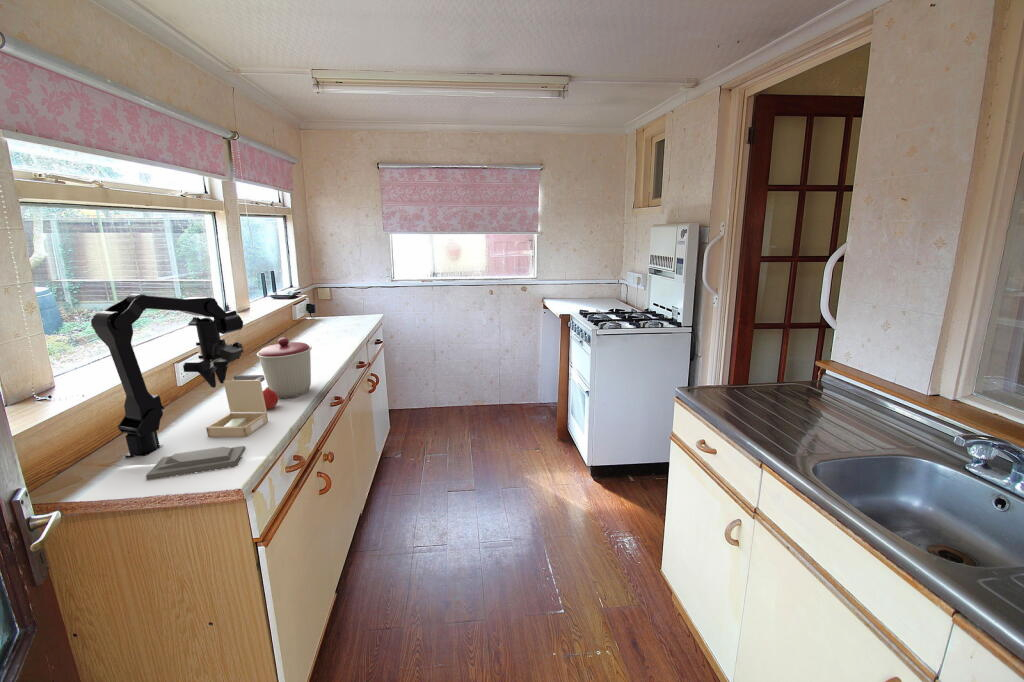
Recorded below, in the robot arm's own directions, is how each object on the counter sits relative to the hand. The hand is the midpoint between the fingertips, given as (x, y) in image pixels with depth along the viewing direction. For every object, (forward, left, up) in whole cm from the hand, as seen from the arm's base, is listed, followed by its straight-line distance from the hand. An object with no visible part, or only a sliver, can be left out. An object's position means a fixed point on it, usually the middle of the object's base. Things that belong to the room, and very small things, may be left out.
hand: (218, 385), depth 154 cm
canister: (+23, -10, -12) cm, 28 cm away
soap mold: (-30, -14, -12) cm, 35 cm away
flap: (-4, -11, -2) cm, 12 cm away
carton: (-9, -11, -11) cm, 18 cm away
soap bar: (-9, -10, -11) cm, 17 cm away
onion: (+8, -11, -12) cm, 18 cm away
